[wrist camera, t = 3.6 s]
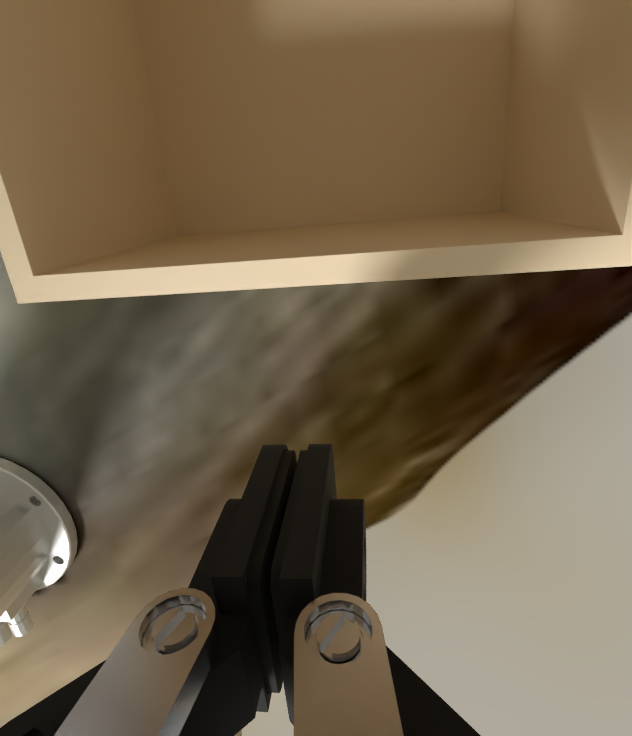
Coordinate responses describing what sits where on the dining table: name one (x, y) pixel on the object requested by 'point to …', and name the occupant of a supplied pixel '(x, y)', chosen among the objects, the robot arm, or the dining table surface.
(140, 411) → the dining table surface
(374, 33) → the carton
